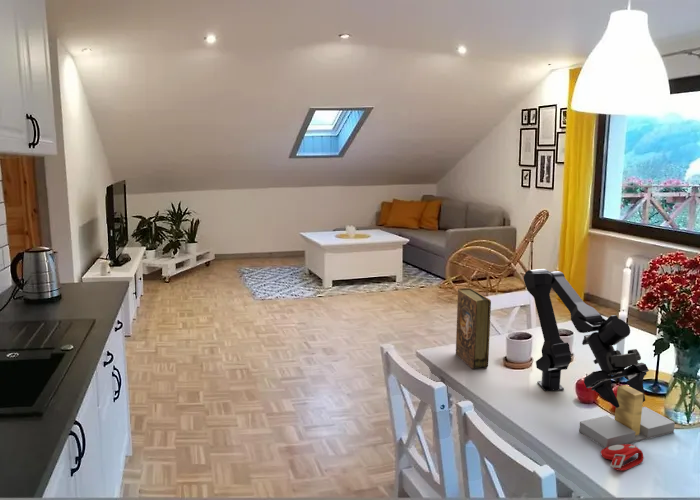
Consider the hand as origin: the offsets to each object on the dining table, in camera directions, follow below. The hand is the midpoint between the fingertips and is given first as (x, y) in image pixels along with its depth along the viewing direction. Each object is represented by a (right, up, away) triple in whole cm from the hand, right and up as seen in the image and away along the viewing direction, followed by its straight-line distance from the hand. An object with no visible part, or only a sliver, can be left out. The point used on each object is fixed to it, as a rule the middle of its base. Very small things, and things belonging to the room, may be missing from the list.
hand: (631, 404), depth 161 cm
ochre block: (0, -8, +2) cm, 8 cm away
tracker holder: (-9, -12, -12) cm, 19 cm away
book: (-33, +2, +52) cm, 62 cm away
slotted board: (0, -8, +2) cm, 9 cm away
